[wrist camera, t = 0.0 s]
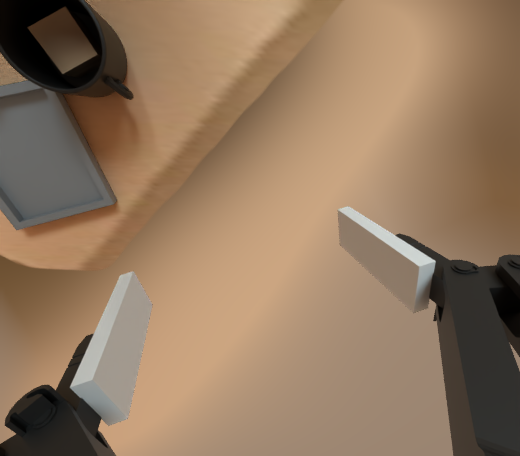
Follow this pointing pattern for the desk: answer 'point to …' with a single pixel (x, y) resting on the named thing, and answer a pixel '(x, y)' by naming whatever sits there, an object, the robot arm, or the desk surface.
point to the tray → (45, 159)
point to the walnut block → (68, 43)
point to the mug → (38, 61)
